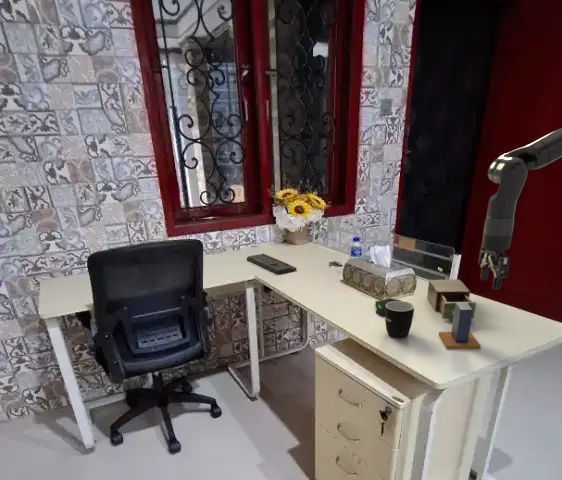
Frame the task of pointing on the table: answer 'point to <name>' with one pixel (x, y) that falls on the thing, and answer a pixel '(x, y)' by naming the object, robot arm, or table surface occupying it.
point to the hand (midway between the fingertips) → (489, 284)
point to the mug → (398, 318)
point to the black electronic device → (383, 306)
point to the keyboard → (271, 264)
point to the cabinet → (444, 290)
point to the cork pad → (451, 343)
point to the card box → (461, 322)
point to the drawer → (453, 304)
